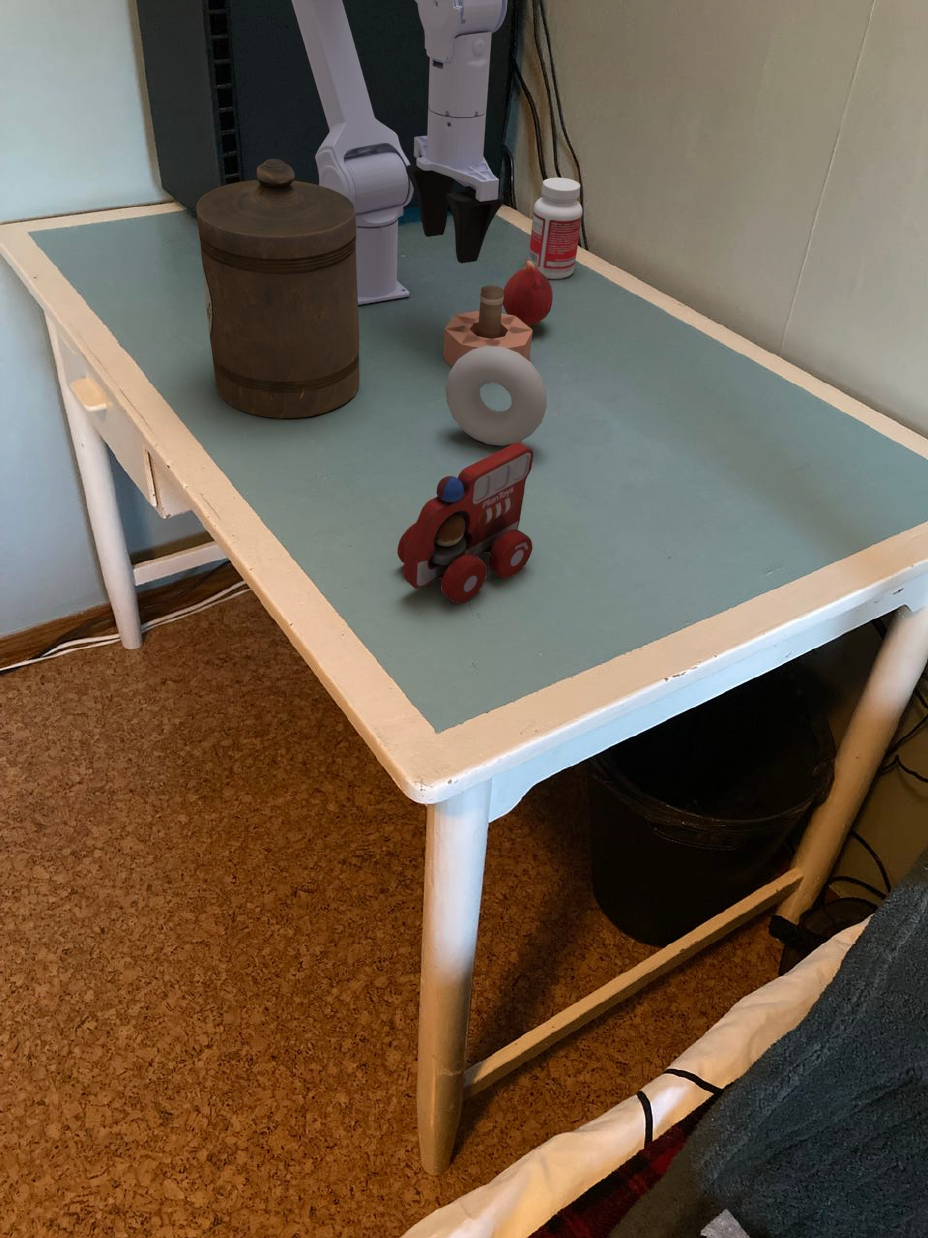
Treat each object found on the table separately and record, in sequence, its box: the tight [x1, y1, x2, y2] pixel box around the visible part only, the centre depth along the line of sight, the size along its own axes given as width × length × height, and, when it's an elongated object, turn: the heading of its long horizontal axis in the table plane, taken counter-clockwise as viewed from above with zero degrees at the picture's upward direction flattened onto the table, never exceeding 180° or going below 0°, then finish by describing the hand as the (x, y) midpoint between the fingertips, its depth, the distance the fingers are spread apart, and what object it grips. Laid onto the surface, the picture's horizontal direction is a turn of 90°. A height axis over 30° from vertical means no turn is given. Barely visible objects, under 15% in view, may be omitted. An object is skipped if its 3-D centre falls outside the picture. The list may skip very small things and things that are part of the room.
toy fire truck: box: [397, 442, 534, 604], centre depth 77 cm, size 7×12×10 cm, turn 132°
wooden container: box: [195, 158, 360, 419], centre depth 94 cm, size 15×15×22 cm
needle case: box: [477, 284, 504, 339], centre depth 105 cm, size 2×2×8 cm
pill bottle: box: [527, 177, 583, 280], centre depth 123 cm, size 6×6×11 cm
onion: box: [502, 260, 554, 328], centre depth 111 cm, size 6×6×8 cm
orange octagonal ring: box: [442, 310, 534, 369], centre depth 107 cm, size 9×9×4 cm
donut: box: [445, 346, 548, 447], centre depth 92 cm, size 10×4×10 cm, turn 71°
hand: (450, 247), depth 104 cm, fingers open, 7 cm apart
